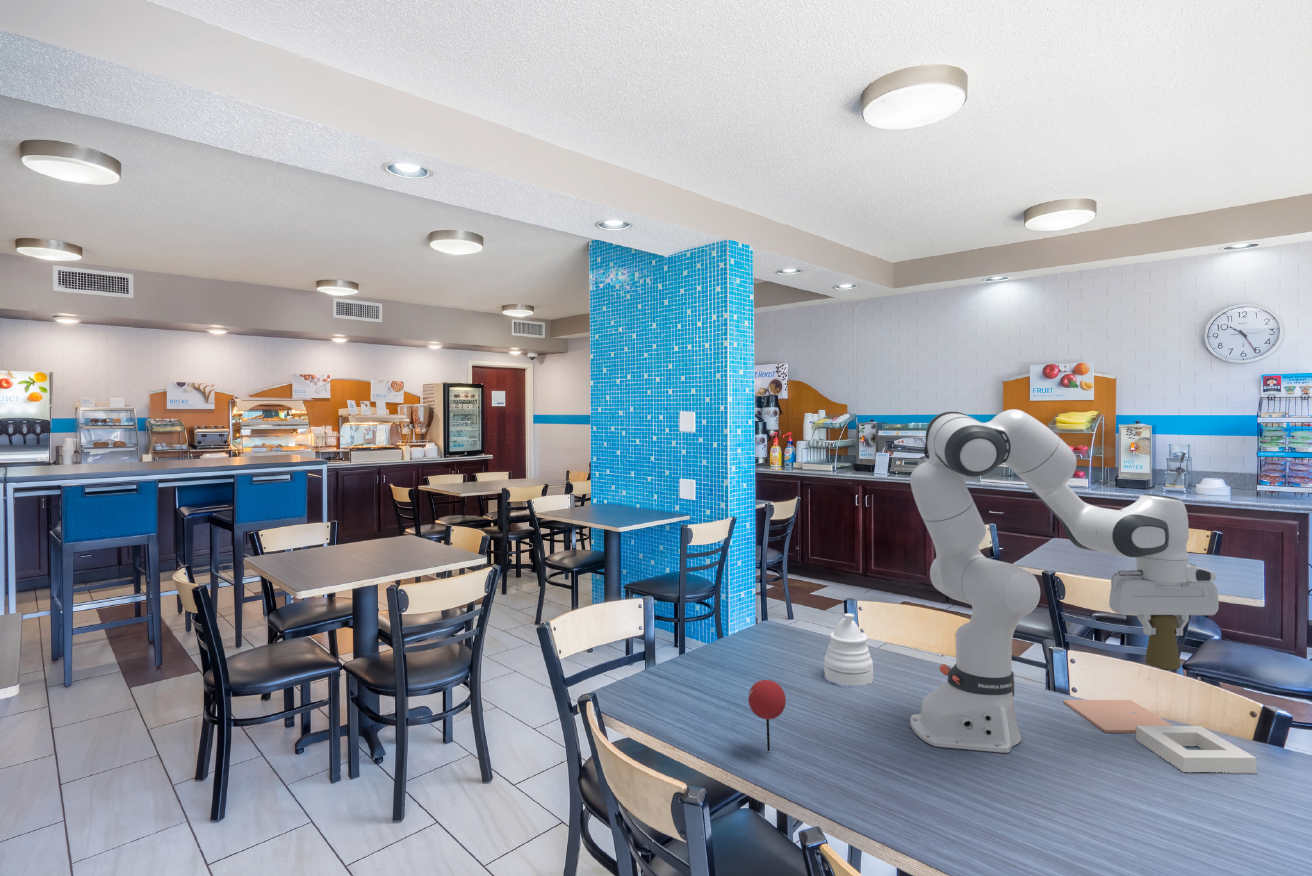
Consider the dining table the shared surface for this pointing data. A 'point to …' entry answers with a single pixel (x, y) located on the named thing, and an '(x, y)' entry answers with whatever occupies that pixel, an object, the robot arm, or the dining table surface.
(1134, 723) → the terracotta tile
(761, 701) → the lollipop
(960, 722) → the robot arm
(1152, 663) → the olive pawn
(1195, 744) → the frame
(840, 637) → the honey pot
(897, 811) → the dining table surface
